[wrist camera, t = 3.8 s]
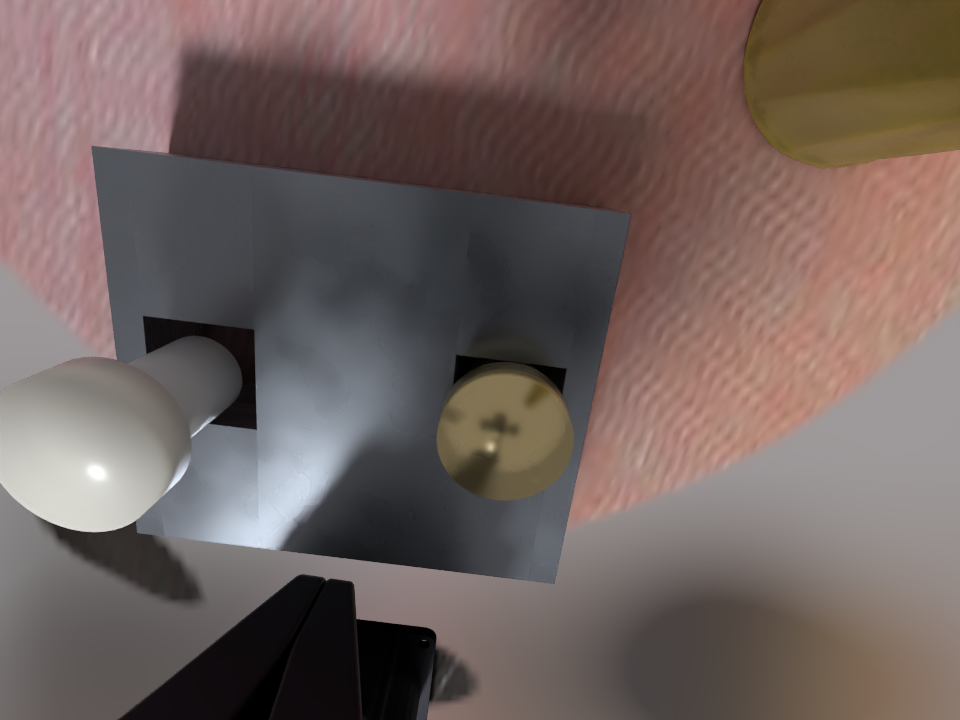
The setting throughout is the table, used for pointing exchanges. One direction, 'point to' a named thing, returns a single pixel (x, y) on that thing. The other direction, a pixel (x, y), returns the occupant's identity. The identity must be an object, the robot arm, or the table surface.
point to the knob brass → (504, 430)
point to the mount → (355, 348)
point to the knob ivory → (110, 431)
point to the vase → (855, 78)
